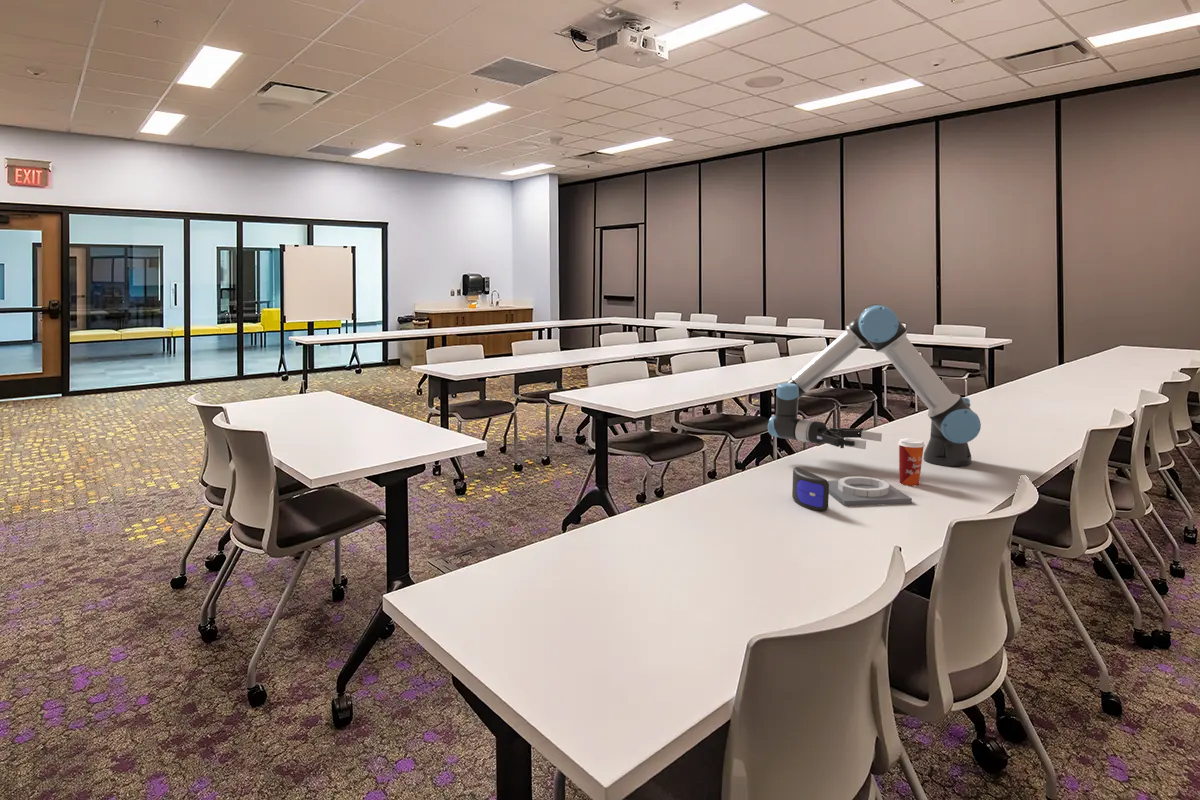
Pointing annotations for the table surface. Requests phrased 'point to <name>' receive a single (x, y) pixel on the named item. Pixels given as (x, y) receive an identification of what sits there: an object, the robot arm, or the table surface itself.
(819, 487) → the leaning round-cornered charcoal block
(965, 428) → the robot arm
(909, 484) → the paper cup
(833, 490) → the collar board
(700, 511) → the table surface
